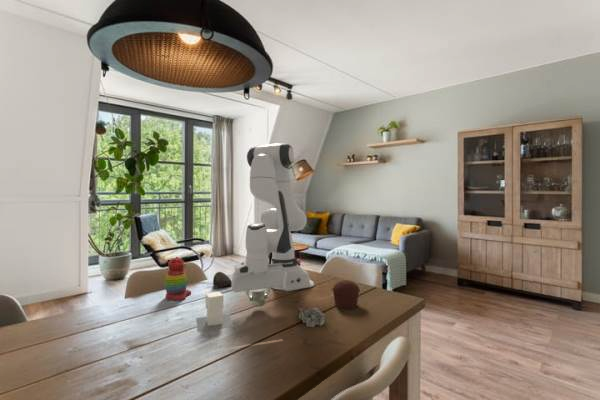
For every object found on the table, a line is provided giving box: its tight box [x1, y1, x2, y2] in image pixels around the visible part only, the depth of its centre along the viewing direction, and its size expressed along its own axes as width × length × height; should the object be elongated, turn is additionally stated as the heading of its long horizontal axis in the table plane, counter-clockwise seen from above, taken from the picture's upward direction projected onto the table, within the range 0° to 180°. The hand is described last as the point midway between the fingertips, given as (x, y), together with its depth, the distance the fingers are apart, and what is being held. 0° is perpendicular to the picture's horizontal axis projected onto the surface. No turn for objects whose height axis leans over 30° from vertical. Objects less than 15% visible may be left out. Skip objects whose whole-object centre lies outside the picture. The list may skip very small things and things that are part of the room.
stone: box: [212, 271, 232, 288], centre depth 159 cm, size 10×8×10 cm
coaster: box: [196, 313, 234, 333], centre depth 113 cm, size 12×12×1 cm
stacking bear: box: [164, 256, 192, 302], centre depth 142 cm, size 11×10×18 cm
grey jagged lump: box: [298, 307, 326, 328], centre depth 116 cm, size 11×8×4 cm
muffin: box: [331, 279, 361, 310], centre depth 131 cm, size 12×11×10 cm
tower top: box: [205, 291, 224, 312], centre depth 113 cm, size 5×5×5 cm
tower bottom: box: [206, 309, 223, 326], centre depth 113 cm, size 5×5×5 cm
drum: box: [251, 289, 266, 308], centre depth 124 cm, size 5×5×5 cm
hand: (258, 299), depth 125 cm, fingers closed on drum, 5 cm apart
